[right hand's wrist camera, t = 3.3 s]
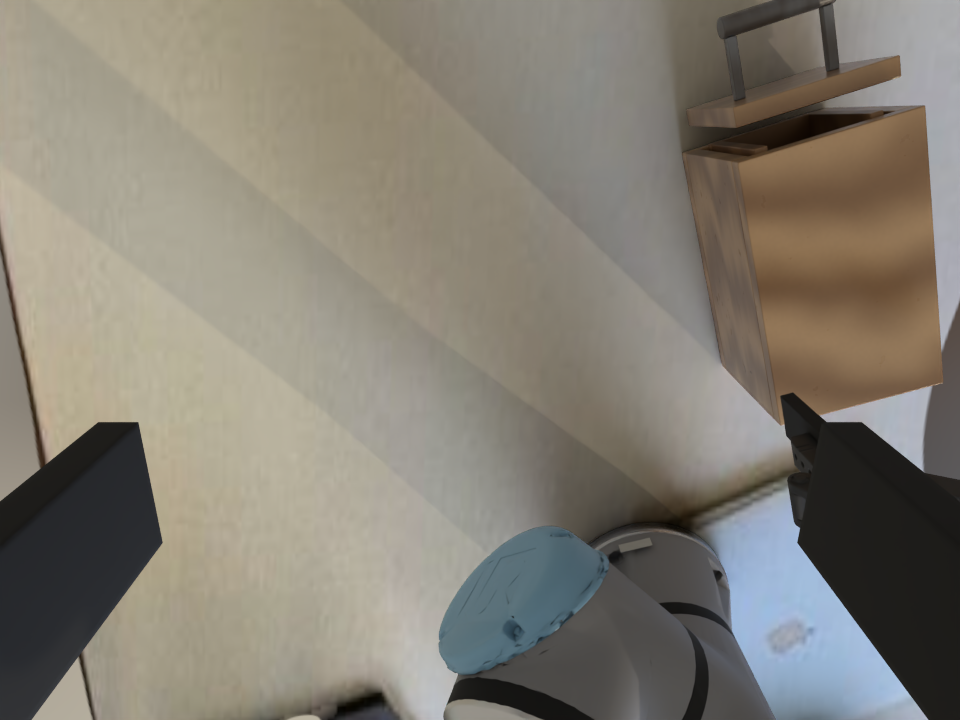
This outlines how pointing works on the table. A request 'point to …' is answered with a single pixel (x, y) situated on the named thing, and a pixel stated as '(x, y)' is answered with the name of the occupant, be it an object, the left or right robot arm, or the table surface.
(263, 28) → the table surface
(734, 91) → the drawer
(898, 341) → the cabinet
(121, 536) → the right robot arm
